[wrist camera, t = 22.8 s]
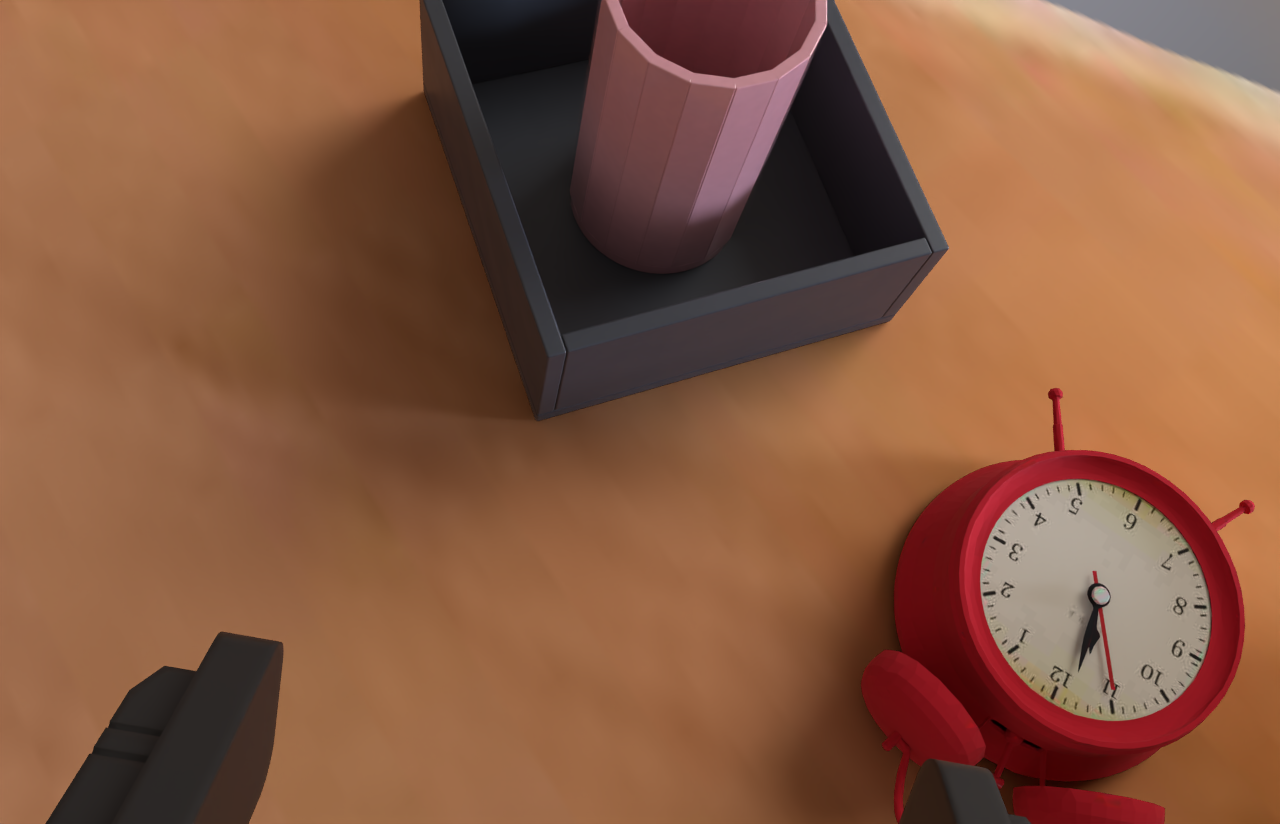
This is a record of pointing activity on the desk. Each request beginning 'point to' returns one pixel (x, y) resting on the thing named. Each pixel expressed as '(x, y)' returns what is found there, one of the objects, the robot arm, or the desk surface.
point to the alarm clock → (1058, 628)
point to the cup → (683, 121)
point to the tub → (676, 302)
